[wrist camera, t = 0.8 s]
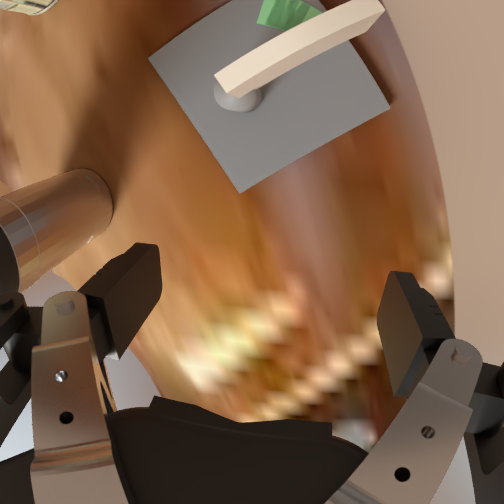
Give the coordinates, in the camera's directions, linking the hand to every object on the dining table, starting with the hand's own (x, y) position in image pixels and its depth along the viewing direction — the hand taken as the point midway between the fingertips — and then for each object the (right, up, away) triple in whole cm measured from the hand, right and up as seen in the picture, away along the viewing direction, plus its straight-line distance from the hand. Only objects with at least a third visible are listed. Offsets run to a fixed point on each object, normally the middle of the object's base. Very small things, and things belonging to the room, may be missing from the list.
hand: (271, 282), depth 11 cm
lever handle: (+3, +18, +16) cm, 25 cm away
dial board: (+1, +19, +18) cm, 26 cm away
